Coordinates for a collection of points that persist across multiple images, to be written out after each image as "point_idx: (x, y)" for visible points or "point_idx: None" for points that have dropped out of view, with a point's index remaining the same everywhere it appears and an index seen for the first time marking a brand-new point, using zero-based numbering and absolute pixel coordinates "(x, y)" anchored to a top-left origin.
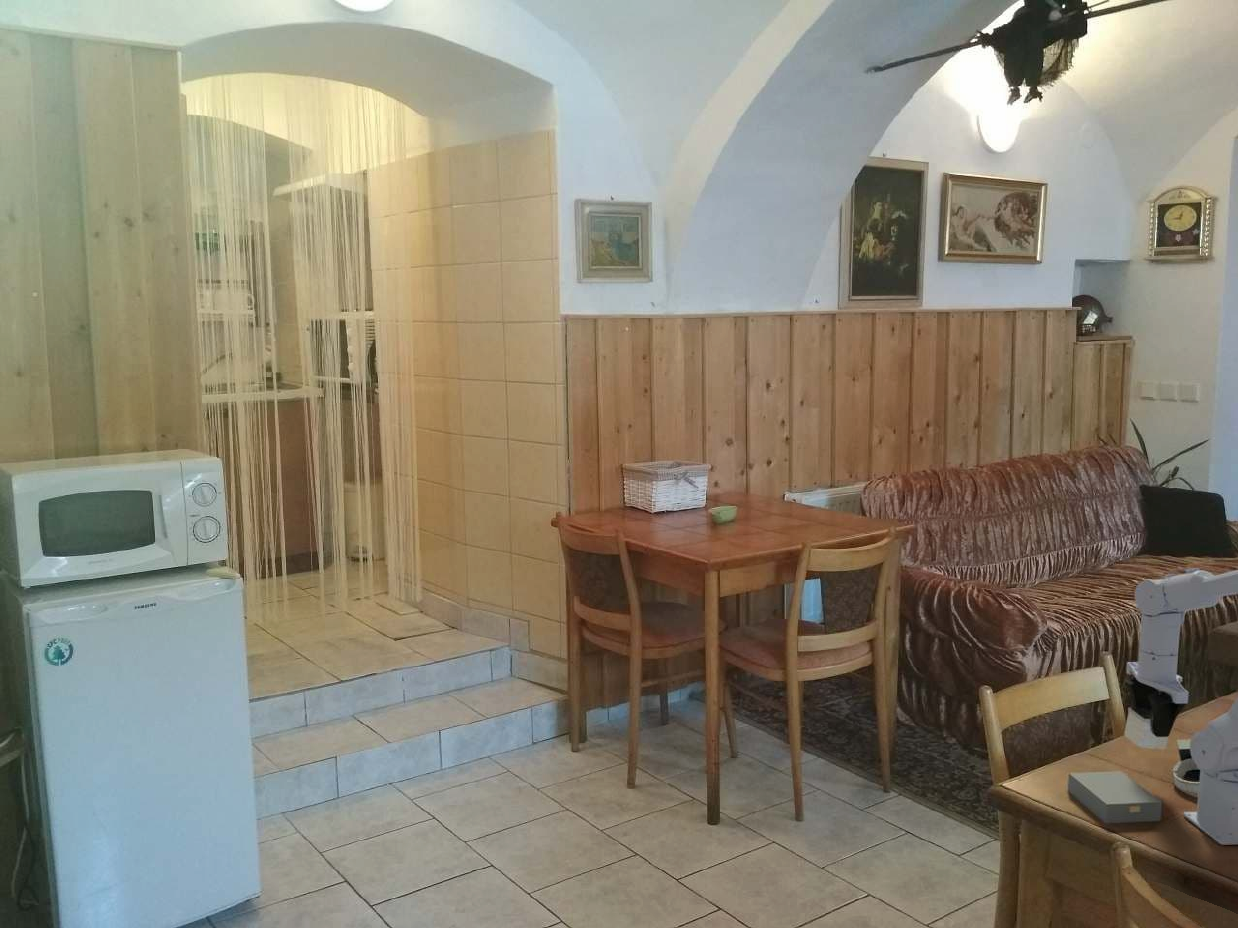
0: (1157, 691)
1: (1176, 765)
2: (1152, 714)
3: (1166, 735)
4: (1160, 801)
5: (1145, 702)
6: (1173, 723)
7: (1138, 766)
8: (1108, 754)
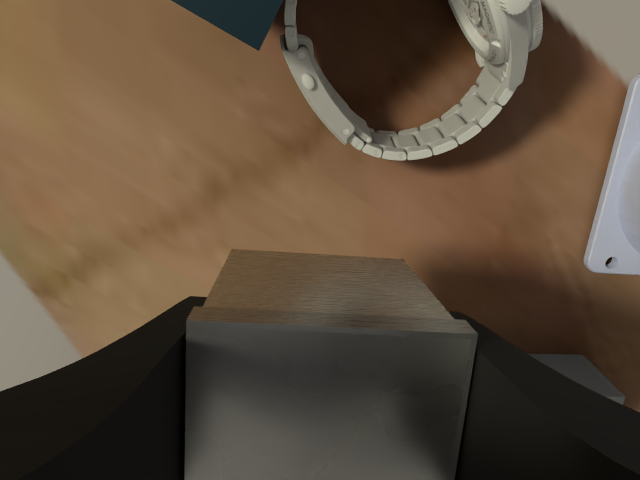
0: (94, 461)
1: (315, 101)
2: (330, 436)
3: None
4: (621, 399)
5: (156, 464)
6: (527, 356)
7: (158, 164)
8: (33, 218)
